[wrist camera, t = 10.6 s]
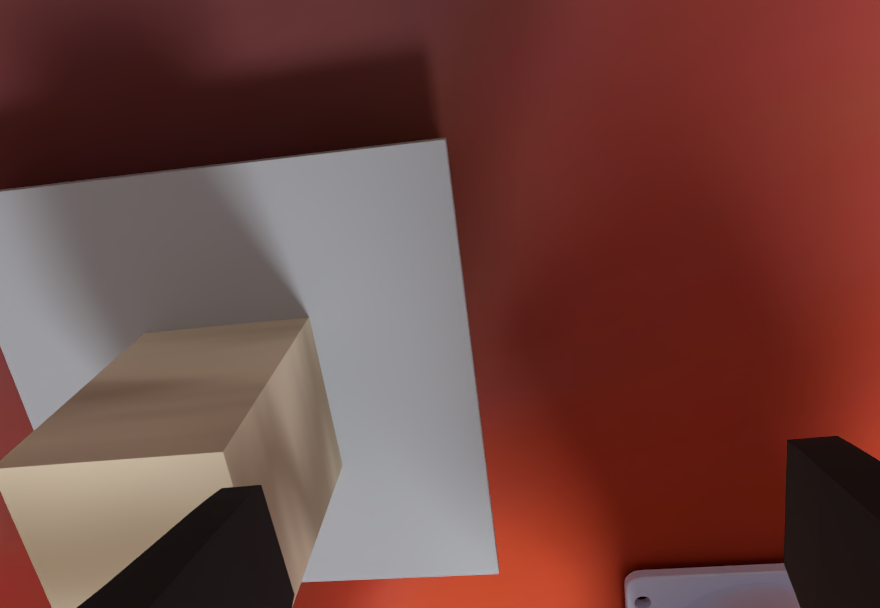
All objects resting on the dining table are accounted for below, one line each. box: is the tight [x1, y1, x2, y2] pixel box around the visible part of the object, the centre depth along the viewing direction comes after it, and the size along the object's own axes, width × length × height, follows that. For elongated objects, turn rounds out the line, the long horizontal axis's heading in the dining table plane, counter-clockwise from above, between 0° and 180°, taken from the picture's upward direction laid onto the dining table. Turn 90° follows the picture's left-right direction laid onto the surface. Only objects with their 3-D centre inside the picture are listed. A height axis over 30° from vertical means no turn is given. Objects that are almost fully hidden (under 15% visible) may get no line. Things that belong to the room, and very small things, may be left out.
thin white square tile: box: [0, 137, 499, 582], centre depth 20 cm, size 13×13×2 cm
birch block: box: [0, 317, 343, 608], centre depth 16 cm, size 4×4×6 cm
